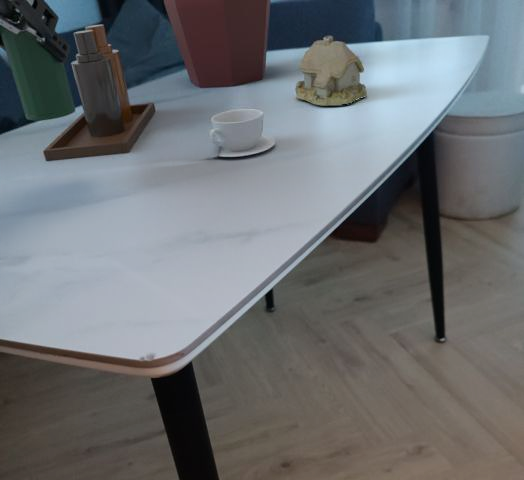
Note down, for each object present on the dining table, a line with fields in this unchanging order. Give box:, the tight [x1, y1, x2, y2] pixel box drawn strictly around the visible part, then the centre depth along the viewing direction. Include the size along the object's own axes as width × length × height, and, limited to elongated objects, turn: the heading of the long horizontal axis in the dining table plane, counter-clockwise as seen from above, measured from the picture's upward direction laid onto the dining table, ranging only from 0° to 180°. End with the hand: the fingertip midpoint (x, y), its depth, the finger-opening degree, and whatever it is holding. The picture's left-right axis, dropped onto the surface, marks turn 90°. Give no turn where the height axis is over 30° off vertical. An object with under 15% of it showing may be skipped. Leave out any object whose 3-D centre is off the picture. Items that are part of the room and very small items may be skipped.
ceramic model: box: [294, 35, 367, 106], centre depth 104 cm, size 14×11×10 cm
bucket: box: [163, 0, 271, 89], centre depth 124 cm, size 24×22×25 cm
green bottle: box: [0, 7, 76, 122], centre depth 70 cm, size 6×6×15 cm
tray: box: [42, 102, 156, 162], centre depth 99 cm, size 13×26×2 cm, turn 0°
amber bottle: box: [84, 24, 133, 123], centre depth 101 cm, size 6×6×15 cm
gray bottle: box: [70, 29, 126, 137], centre depth 95 cm, size 6×6×15 cm
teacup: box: [208, 108, 276, 158], centre depth 85 cm, size 10×10×5 cm
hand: (45, 55), depth 72 cm, fingers closed on green bottle, 6 cm apart
